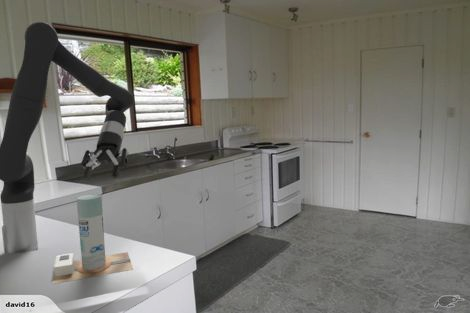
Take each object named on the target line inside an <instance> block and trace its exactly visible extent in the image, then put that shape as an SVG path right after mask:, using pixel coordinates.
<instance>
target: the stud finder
mask: <svg viewBox="0 0 470 313" xmlns="http://www.w3.org/2000/svg"><path fill="white" fill-rule="evenodd" d="M74 261H75V258H74V253H73V252H71V253H65V254H58V255H56V257H55V261H54V264H53V266H54V267H53V269H54V270H53V272H54V276H55V277H56V276H62V275H67V274H73V265H74Z"/></svg>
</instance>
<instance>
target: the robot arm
mask: <svg viewBox="0 0 470 313" xmlns="http://www.w3.org/2000/svg"><path fill="white" fill-rule="evenodd" d="M23 51H24V52H23V57H22V58H23V59H22V63H21V67H20V69H19V72H18V73H17V75H16V76H17V77H16V79H15V82H14V85H13V87H12V91H11V94H10V101H9V105H8V110H7V115H6V119H5V125H4V131H3V135H2V139H1V142H0V181H2V182H3V188H2V191H1V193H0V204H1V215H2V216H1V217H2V227H1V233H2V243H3V254H4V255H14V254H19V253H26V252H33V251H37V250H38V249H39V242H38V234H37V233H38V232H37V220H36V210H35V199H34V198H35V197H34V191H35V171H34V164H33V160H32V158H31V157H30V155H28V153H27V152H28V147H29V143H30V141H31V140H30V139H31V137H32V136H33V134H34V131H35V130H36V128H37V125H38V124H39V121H40V119H41V117H42V112H43V110H44V104H45V101H46V94H47V86H48V78H49V77H48V76H49V70H50V66H51V63H52V62H53V64H56V65H57V66H59V67H60V68H61V69H62V70H64V71H65V72H66V73H67V74H69V75H70V76H71V77H73V78H74V79H75V80H76V81H77V82H79V83H80V84H81V85H82V86H83V87H84V88H86V89H87V90H88V91H90V92H91V93H92V94H93V95H95V96H96V97H98V98H102V97H105V96H108V97H109V98H108V99H107V101H106V103H105V108H104V109H105V118H104V121H103V125H102V126H101V129H100V133H99V137H98V139H97V142H96V149H95V150H94V151H90V150H88V149H87V150H86V151H85V152H84V155H83V157H82V160H81V163H80V165H81V166H82V168H83V169H84V174H83V176H84V178H85V179H86V180H87V181H90V180H91V177H92V173H93V170H94V169H95V168H96V167H99V166H100V165H105V164H109V165H110V164H112V163H113V164H114V165H113V168H112V171H111V177H112V179H113V180H116V179H117V178H118V177H119V175H120V170H121V168H126V167H128V160H129V151H128V149H127V148H126V147H123V148H122V149H121V147H122V145H123V144H122V143H123V140H124V135H125V134H124V133H125V129H126V128H125V127H126V122H127V116H126V114H125V112H126V111H128V110H129V109H131V108H132V107H133V106H134V104H135V96H134V95H133V94H132V92H131V91H129V89H126V88H125V87H123V86H121V85H118V84H117V83H115V82H112V81H111V80H109V79H108V78H106V77H105V76H104V75H103V74H102V73H101V72H99V71H98V70H97V69H96V68H94V67H93V66H92V65H90V64H88V63H87V62H86V61H84V60H83V59H81V58H80V57H78V56H77V55H75V54H74V53H72V51H70V50H69V49H68V48H67V47H66V46H65V45H63V43H62V42H61V41H60V40H59V35H58V33H57V31H56V29H55V27H53V26H52V25H51V24H49V23H47V22H45V21H36V22H34V23H33V22H32V23H31V24H29V25H28V26H27V27H26V30H25V32H24V50H23ZM120 156H121V157H120ZM119 157H120V161H118V160H117V158H119ZM96 160H97V161H96Z"/></svg>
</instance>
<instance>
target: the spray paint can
mask: <svg viewBox="0 0 470 313" xmlns="http://www.w3.org/2000/svg"><path fill="white" fill-rule="evenodd" d="M76 207H77V208H76V209H77V219H78V221H77V222H78V231H79V232H78V233H79V242H80V244H79V245H80V246H79V247H80V254H81V256H80V257H81V260H82V267H83V269H85V270H95V269H99V268H101V267H103V266H104V265H105V263H106V260H105V256H106V245H105V228H104V215H103V214H104V213H103V212H104V211H103V197H102V195H100V194H85V195H80V196H79V197H76Z"/></svg>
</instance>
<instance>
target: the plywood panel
mask: <svg viewBox="0 0 470 313" xmlns="http://www.w3.org/2000/svg"><path fill="white" fill-rule="evenodd" d="M105 260H106V263H105V265H104V266H103V267H101V268H99V269H95V270H85V269H83V267H82V259H76V260H74V265H73V274H67V275H62V276H56V277H55V275H54V277H53V282H52V284H53V285H55V284H61V283H67V282H72V281H78V280H84V279H89V278H93V277H101V276H106V275H111V274H117V273H121V272H128V271H133V270H134V268H133V265H132V264H133V263H132V262H131V258H130V255H129V252H128V251H126V252H120V253H114V254H109V255H105Z"/></svg>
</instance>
